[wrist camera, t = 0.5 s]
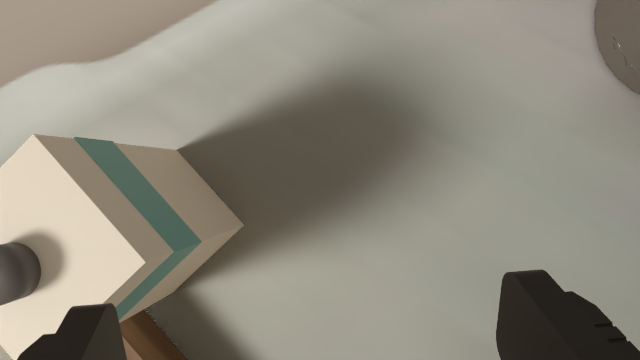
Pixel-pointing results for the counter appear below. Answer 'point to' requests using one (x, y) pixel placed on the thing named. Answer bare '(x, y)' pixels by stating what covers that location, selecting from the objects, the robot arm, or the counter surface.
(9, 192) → the cream carton
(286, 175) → the counter surface
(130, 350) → the brown shallow square tray
